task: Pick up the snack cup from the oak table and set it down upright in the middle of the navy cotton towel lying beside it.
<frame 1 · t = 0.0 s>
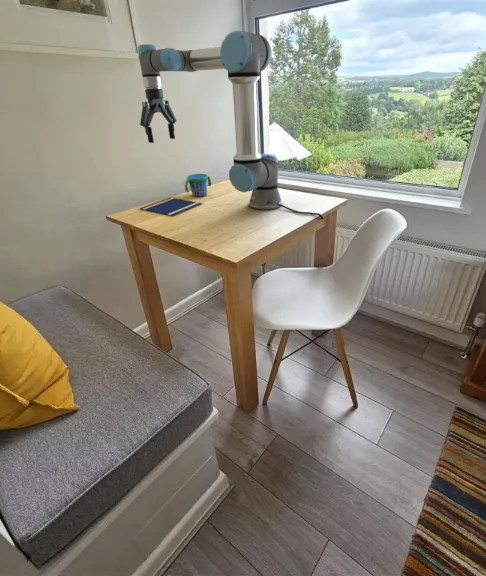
hand: (162, 140, 154), 28 cm above the table, tool pointing down, fingers open, 13 cm apart
snack cup: (199, 195, 173), on the table
towel: (171, 206, 158), on the table
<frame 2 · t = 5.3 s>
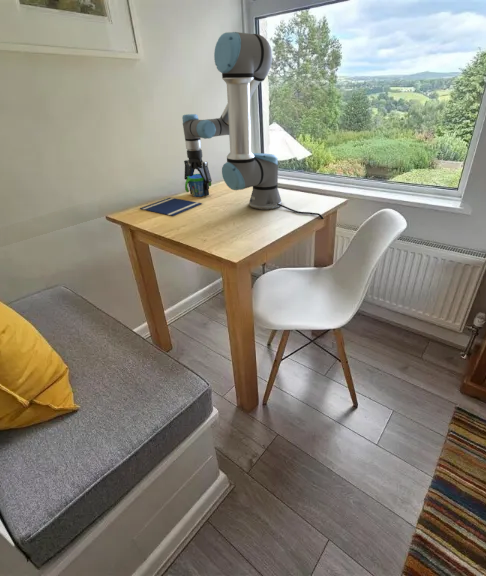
hand: (199, 194, 172), 1 cm above the table, tool pointing down, fingers closed on snack cup, 9 cm apart
snack cup: (199, 195, 173), on the table, touching gripper
when the fingers open (1 cm above the table, at t = 13.4 s): snack cup stays where it is, resting on towel.
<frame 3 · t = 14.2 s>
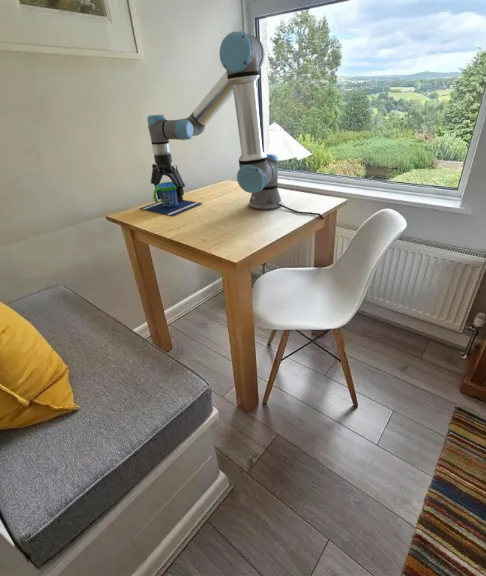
hand: (170, 200, 156), 3 cm above the table, tool pointing down, fingers open, 13 cm apart
snack cup: (171, 206, 158), resting on towel
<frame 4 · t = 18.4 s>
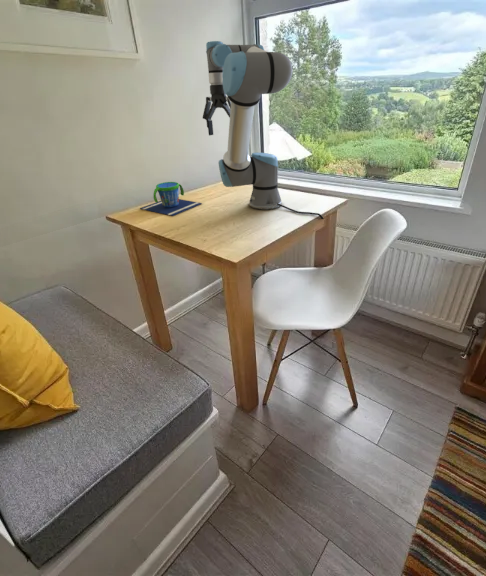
hand: (221, 135, 158), 29 cm above the table, tool pointing down, fingers open, 13 cm apart
nothing on the table moved.
at the end: snack cup inside the target area on the towel (0.1 cm from its centre), point 0.2 cm above the towel's base; snack cup tilted 0°; the gripper is holding nothing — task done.
